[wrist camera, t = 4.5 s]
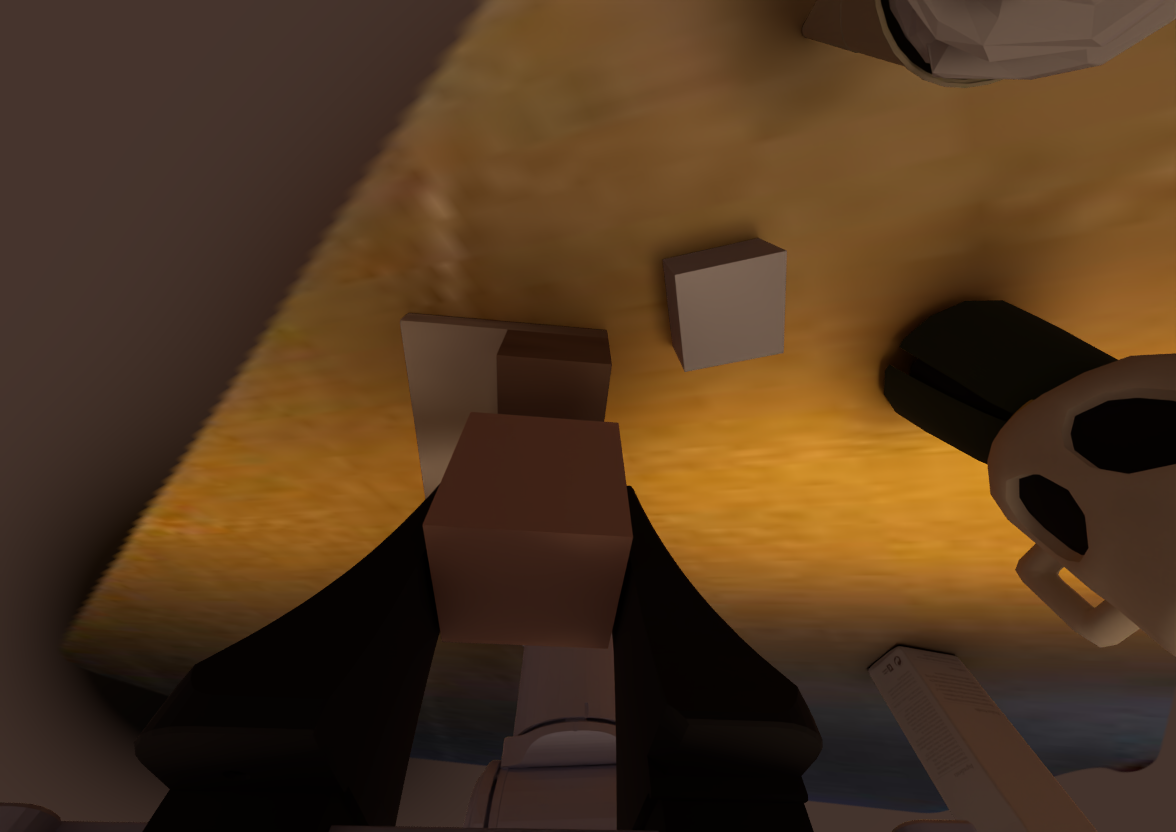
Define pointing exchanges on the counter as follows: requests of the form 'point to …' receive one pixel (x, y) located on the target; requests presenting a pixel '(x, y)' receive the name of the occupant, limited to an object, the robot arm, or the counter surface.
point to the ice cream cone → (987, 34)
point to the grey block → (726, 303)
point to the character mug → (1060, 456)
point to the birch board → (455, 378)
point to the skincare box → (972, 746)
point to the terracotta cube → (530, 532)
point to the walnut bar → (553, 375)
